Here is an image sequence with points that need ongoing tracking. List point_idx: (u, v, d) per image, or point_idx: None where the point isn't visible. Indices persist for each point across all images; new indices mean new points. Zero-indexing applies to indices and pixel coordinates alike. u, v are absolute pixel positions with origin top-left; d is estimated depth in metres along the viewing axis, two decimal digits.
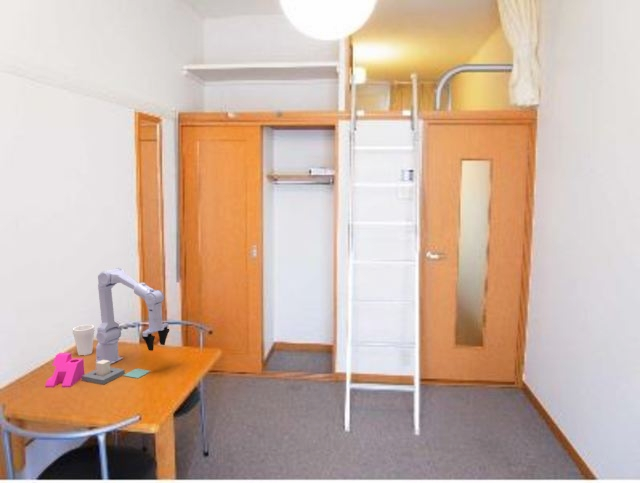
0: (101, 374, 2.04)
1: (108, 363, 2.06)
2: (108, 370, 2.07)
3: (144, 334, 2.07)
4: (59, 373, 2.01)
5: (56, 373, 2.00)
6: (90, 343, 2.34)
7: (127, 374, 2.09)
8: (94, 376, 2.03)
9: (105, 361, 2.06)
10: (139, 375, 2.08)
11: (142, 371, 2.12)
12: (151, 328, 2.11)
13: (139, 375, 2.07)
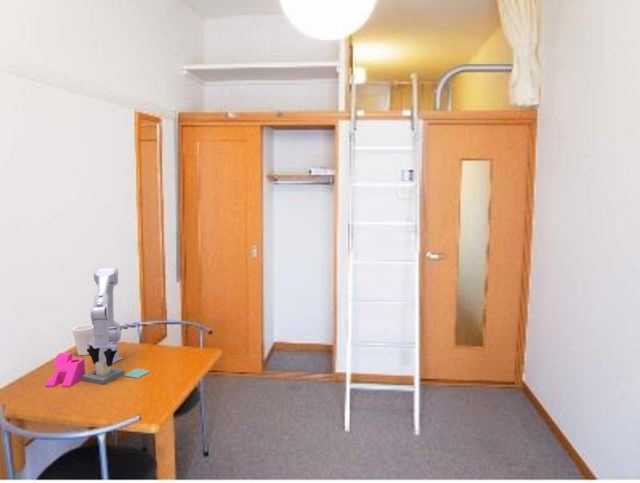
0: (101, 374, 2.04)
1: None
2: (108, 370, 2.07)
3: None
4: (60, 373, 2.01)
5: (57, 373, 2.00)
6: None
7: (127, 374, 2.09)
8: (94, 376, 2.03)
9: (105, 361, 2.06)
10: (139, 375, 2.08)
11: (142, 371, 2.12)
12: None
13: (139, 375, 2.07)
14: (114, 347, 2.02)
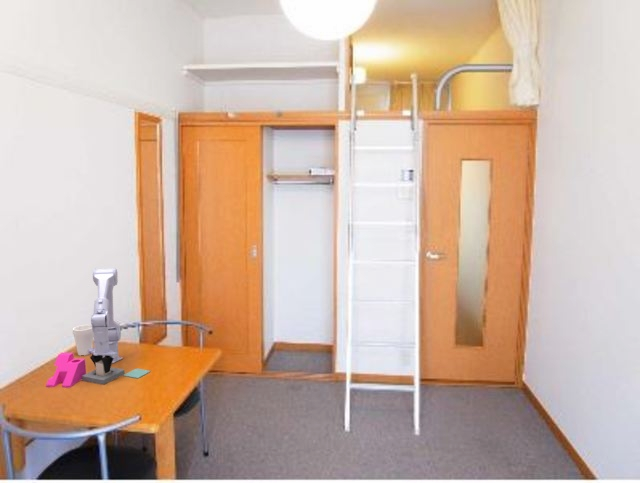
0: (101, 374, 2.04)
1: None
2: None
3: None
4: (60, 373, 2.01)
5: (57, 373, 2.00)
6: (90, 343, 2.34)
7: (127, 374, 2.09)
8: (94, 376, 2.03)
9: None
10: (139, 375, 2.08)
11: (142, 371, 2.12)
12: None
13: (139, 375, 2.07)
14: (114, 354, 2.03)
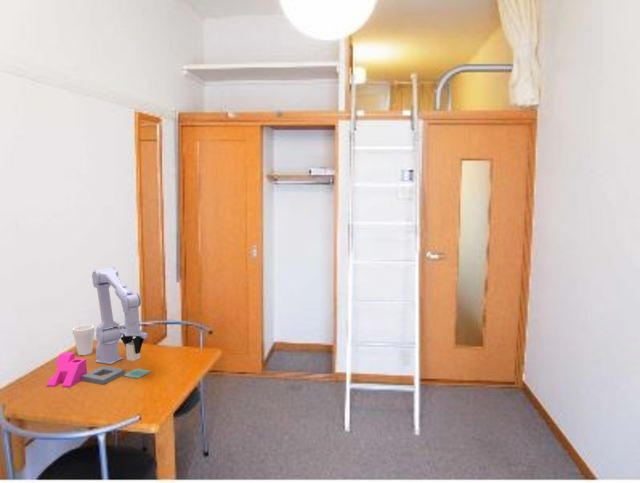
0: (131, 356, 2.06)
1: None
2: None
3: None
4: (61, 373, 2.01)
5: (58, 373, 2.00)
6: (90, 343, 2.34)
7: (127, 374, 2.09)
8: (94, 376, 2.03)
9: None
10: (139, 375, 2.08)
11: (142, 371, 2.12)
12: None
13: (139, 375, 2.07)
14: (145, 335, 2.05)
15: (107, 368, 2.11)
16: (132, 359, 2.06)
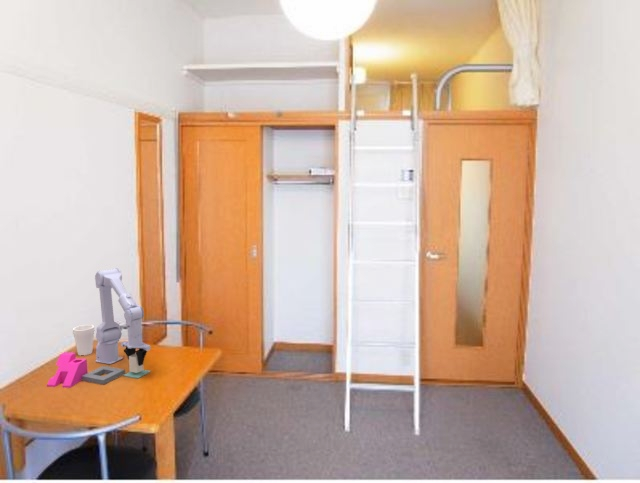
0: (134, 367, 2.07)
1: None
2: None
3: None
4: (61, 373, 2.01)
5: (58, 373, 2.00)
6: (90, 343, 2.34)
7: (127, 374, 2.09)
8: (94, 376, 2.03)
9: None
10: (139, 375, 2.08)
11: (142, 371, 2.12)
12: None
13: (139, 375, 2.07)
14: (148, 347, 2.06)
15: (107, 368, 2.11)
16: (135, 371, 2.07)
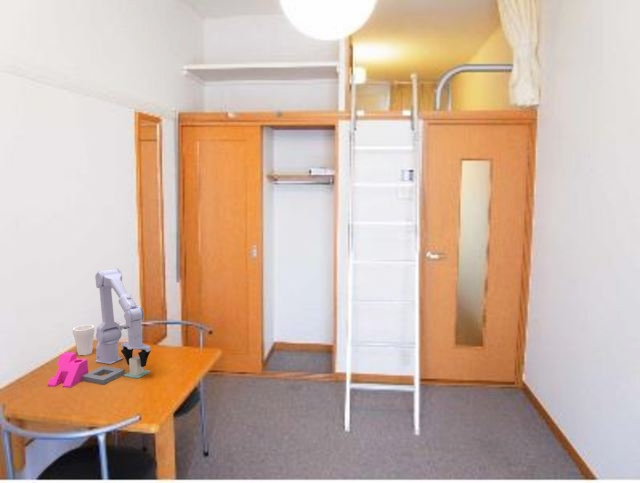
0: (134, 370, 2.08)
1: None
2: None
3: None
4: (62, 373, 2.01)
5: (59, 372, 2.01)
6: (90, 343, 2.34)
7: (127, 374, 2.09)
8: (94, 376, 2.03)
9: (138, 357, 2.10)
10: (139, 375, 2.08)
11: None
12: None
13: (139, 375, 2.07)
14: (148, 348, 2.06)
15: (107, 368, 2.11)
16: (135, 374, 2.08)
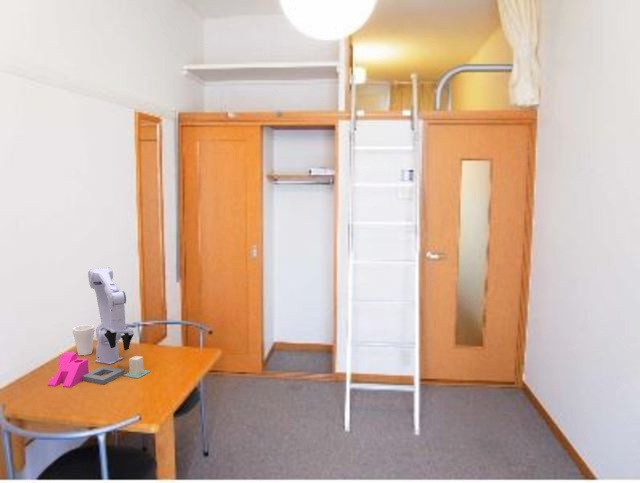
0: (134, 370, 2.08)
1: (141, 359, 2.10)
2: (141, 366, 2.10)
3: None
4: (62, 373, 2.01)
5: (59, 372, 2.01)
6: (90, 343, 2.34)
7: (127, 374, 2.09)
8: (94, 376, 2.03)
9: (138, 357, 2.10)
10: (139, 375, 2.08)
11: None
12: None
13: (139, 375, 2.07)
14: (131, 331, 2.08)
15: (107, 368, 2.11)
16: (135, 374, 2.08)
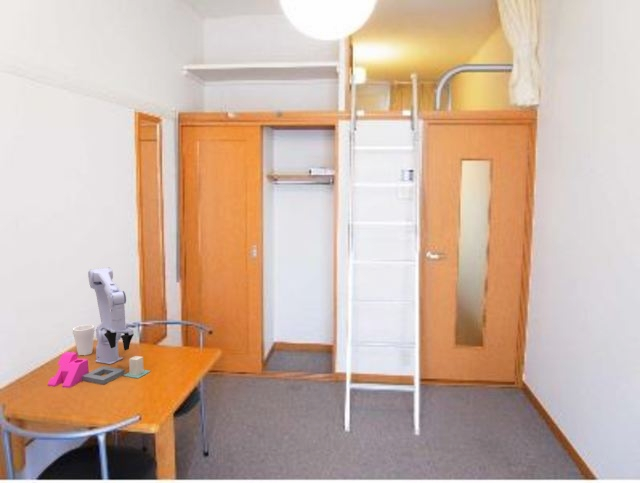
0: (134, 370, 2.08)
1: (141, 359, 2.10)
2: (141, 366, 2.10)
3: None
4: (62, 372, 2.01)
5: (59, 372, 2.01)
6: (90, 343, 2.34)
7: (127, 374, 2.09)
8: (94, 376, 2.03)
9: (138, 357, 2.10)
10: (139, 375, 2.08)
11: None
12: None
13: (139, 375, 2.07)
14: (131, 331, 2.08)
15: (107, 368, 2.11)
16: (135, 374, 2.08)
